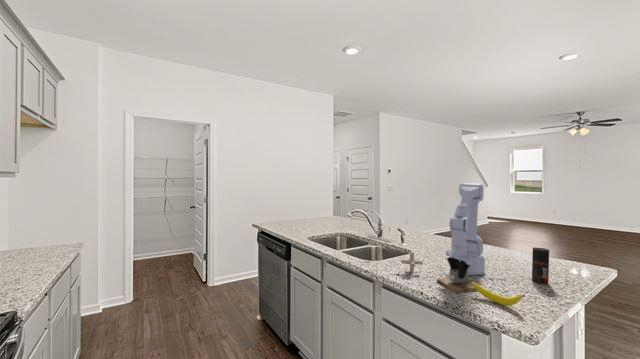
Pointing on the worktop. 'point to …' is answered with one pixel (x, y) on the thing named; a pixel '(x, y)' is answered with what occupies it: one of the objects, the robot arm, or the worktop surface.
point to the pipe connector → (412, 262)
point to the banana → (497, 296)
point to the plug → (456, 276)
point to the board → (457, 285)
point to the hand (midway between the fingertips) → (458, 276)
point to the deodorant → (540, 266)
